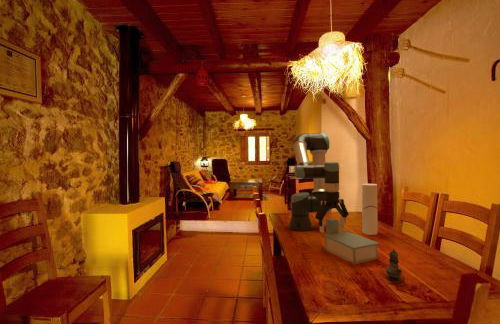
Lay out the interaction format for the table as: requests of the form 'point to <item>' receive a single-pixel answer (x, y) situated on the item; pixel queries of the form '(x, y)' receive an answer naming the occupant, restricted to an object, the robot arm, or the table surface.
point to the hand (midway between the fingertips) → (332, 230)
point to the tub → (351, 252)
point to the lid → (346, 236)
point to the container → (369, 209)
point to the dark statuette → (393, 268)
